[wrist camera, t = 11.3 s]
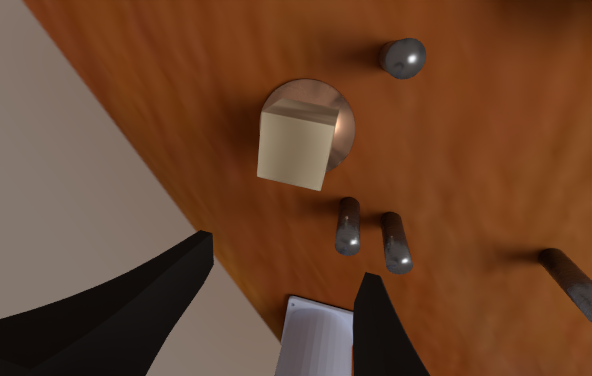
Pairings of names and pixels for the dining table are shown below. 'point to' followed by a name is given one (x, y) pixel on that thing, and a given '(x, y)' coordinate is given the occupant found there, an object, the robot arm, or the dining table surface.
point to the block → (296, 142)
